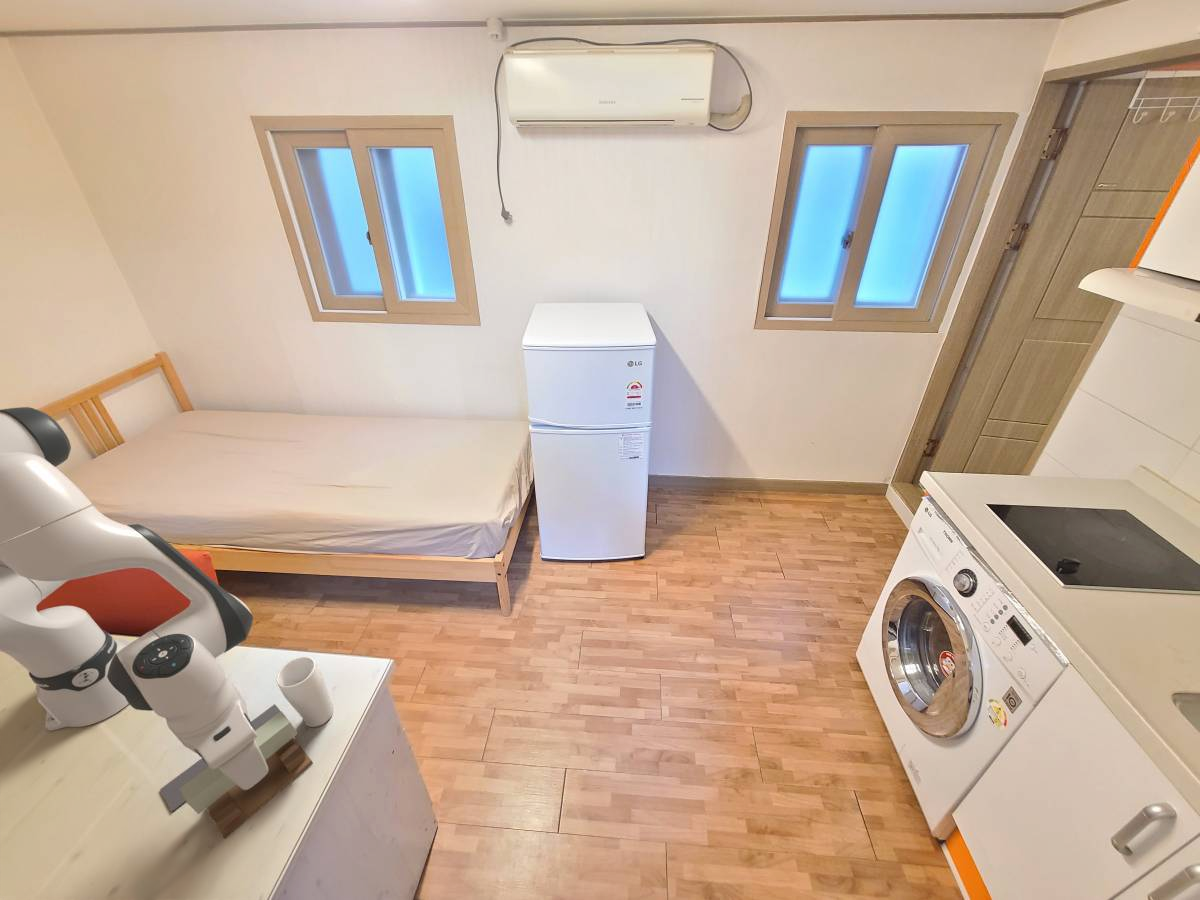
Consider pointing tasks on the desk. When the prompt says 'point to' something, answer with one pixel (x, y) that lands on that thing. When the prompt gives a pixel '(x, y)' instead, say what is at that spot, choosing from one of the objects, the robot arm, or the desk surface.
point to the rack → (259, 788)
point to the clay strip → (217, 783)
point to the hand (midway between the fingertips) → (244, 759)
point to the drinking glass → (306, 690)
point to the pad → (203, 767)
